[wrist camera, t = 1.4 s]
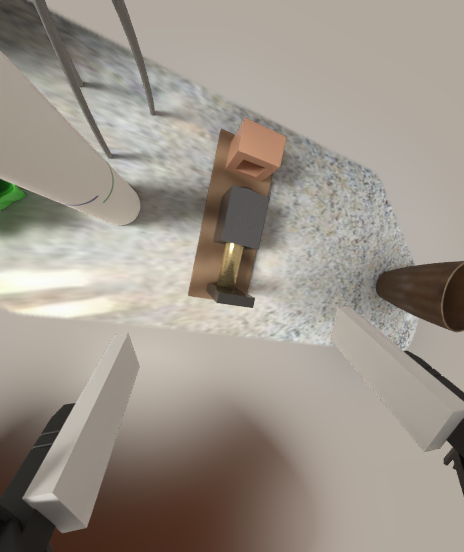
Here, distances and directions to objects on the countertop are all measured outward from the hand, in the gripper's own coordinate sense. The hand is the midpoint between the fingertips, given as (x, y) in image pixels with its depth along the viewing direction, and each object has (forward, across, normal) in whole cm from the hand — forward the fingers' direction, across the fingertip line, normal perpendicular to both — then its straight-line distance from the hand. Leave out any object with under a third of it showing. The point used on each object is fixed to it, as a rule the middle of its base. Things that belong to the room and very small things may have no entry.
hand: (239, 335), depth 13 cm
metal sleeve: (+31, +5, +2) cm, 31 cm away
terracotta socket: (+34, +8, +12) cm, 37 cm away
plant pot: (+33, +47, -19) cm, 61 cm away
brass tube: (+28, +3, -2) cm, 28 cm away
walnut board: (+32, +4, +2) cm, 32 cm away
